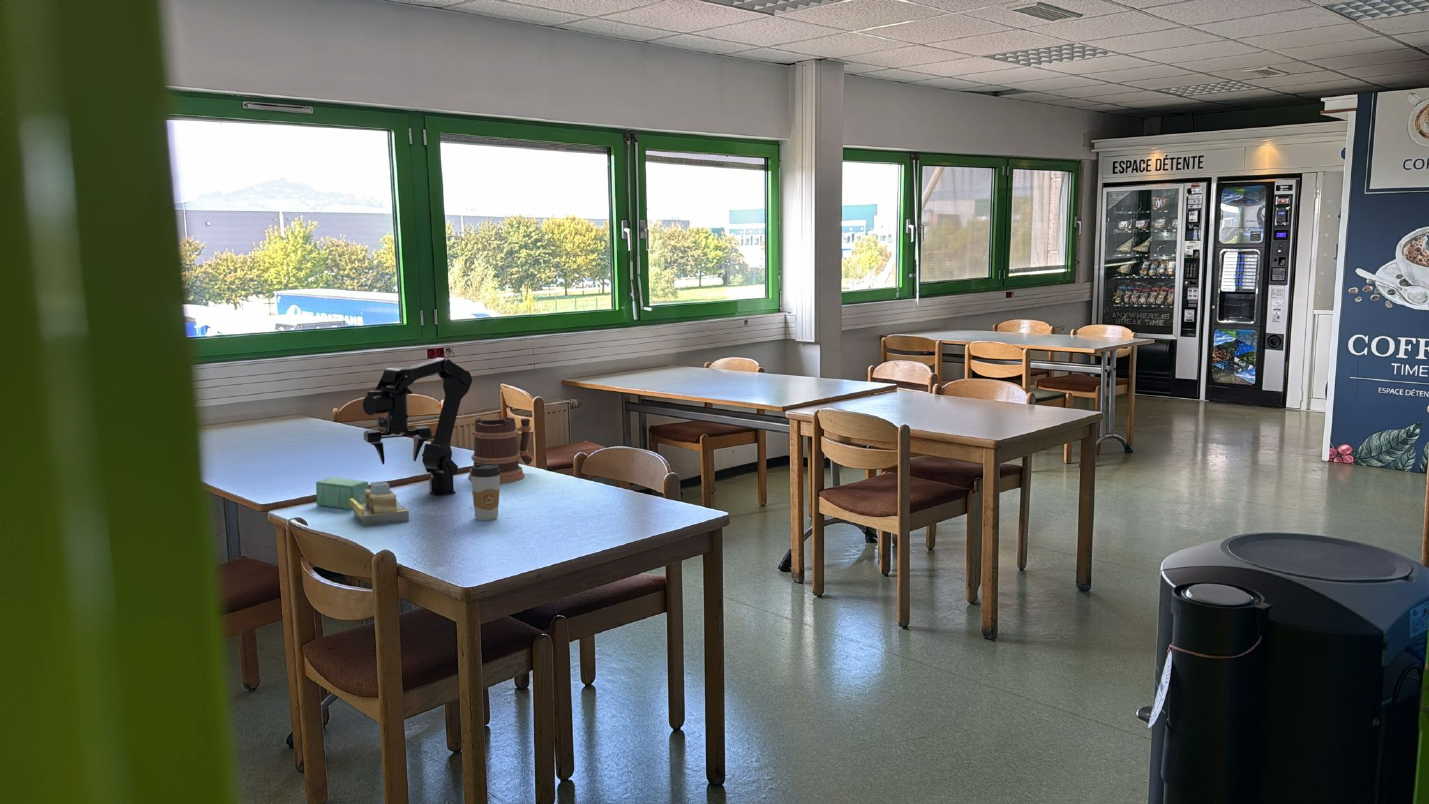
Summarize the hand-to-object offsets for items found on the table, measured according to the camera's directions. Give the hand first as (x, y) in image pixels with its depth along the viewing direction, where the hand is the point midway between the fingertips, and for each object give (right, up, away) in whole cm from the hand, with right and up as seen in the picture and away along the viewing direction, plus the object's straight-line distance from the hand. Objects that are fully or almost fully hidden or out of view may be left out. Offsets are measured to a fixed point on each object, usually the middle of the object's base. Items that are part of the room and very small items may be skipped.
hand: (399, 462), depth 310 cm
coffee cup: (+29, -15, -13) cm, 35 cm away
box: (-16, -13, 0) cm, 21 cm away
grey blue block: (-1, -7, -16) cm, 17 cm away
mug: (+23, -7, +40) cm, 46 cm away
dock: (-1, -15, -15) cm, 21 cm away
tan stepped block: (-1, -12, -15) cm, 19 cm away
